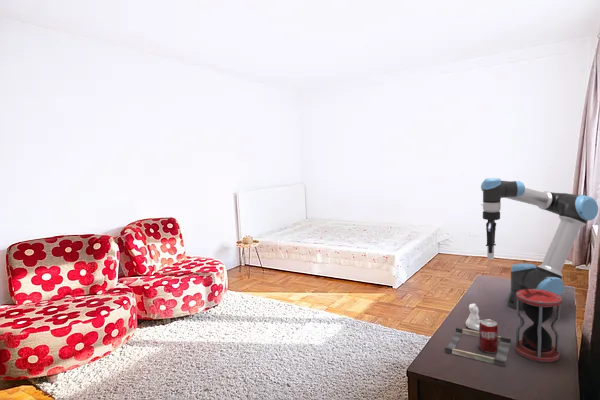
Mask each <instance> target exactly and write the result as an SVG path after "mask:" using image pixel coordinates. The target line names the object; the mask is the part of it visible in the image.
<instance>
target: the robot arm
mask: <svg viewBox="0 0 600 400" xmlns="http://www.w3.org/2000/svg"><path fill="white" fill-rule="evenodd" d="M480 189H481V191H482V203H481V206H482V219H483V220H485V221H487V222H486V223H485V226H486V227H485V230H486V244H485V247H487V250H486V251H487V254H486V259H487V260H492V261H494V259H495V246H496V245H497V244H496V240H495V239H496V228H497V222H496V221H498V220H500V219H501V212H500V211H501V207H502V206H501V205H502V204H501V203H502V202H501V199H503V198H504V199H509V200H513V201H516V202H520V203H525V204H528V205H532V206H536V207H538V208H539V209H541V210H544V211H546V212H549V213H553V214H555V215H559V216H558V218H559V220H560V222H559V224H558V225H557V226H558V227H557V229H556V231H555V233H554V236H553V238H552V240H551V243H550V244H549V247H548V249H547V252H546V253H545V256H544V258H543V260H542V263H541V264H539V265H538V264H537V265H536V264H534V263H525V262H523V263H514V264H512V265H511V268H510V291H509V292H508V293H509V294H508V296H507V299H506V305H507V306H508V307H509V308H511V309H514V310H516V311H517V297H516V292H517V291H519V290H522V289H539V290H545V291H549V292H552V293H555V294H557V295H559V296H561V294H562V293H563V292H564V289H565V285H564V281H563V280H562V279H563V277H564V275H563V274H562V270H563V268H564V265H565V264H566V261H567V258H568V257H569V254H570V253H571V250H572V247H573V246H574V243H575V240H576V238H577V236H578V233H579V231H580V229H581V228H582V227H584V226H587V223H588V221H592V220H594V219H595V218H596V217H597V215H598V213H599V205H598V204H597V203H598V202H597V201H596V199H594V198H593V197H591V196H589V195H585V194H574V193H573V194H572V193H566V192H563V193H562V192H550V191H539V190H535V189H531V188H527V187H526V186H525V184H524V183H523V182H522V181H520V180H519V181H518V180H517V181H516V180H511V181H510V180H509V181H508V180H501V178H496V177H495V178H494V177H492V178H491V177H490V178H489V177H488V178H485V179H483V181H482V183H481V185H480ZM521 311H522V312H524V309H523V302H522V301H520V312H521Z"/></svg>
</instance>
